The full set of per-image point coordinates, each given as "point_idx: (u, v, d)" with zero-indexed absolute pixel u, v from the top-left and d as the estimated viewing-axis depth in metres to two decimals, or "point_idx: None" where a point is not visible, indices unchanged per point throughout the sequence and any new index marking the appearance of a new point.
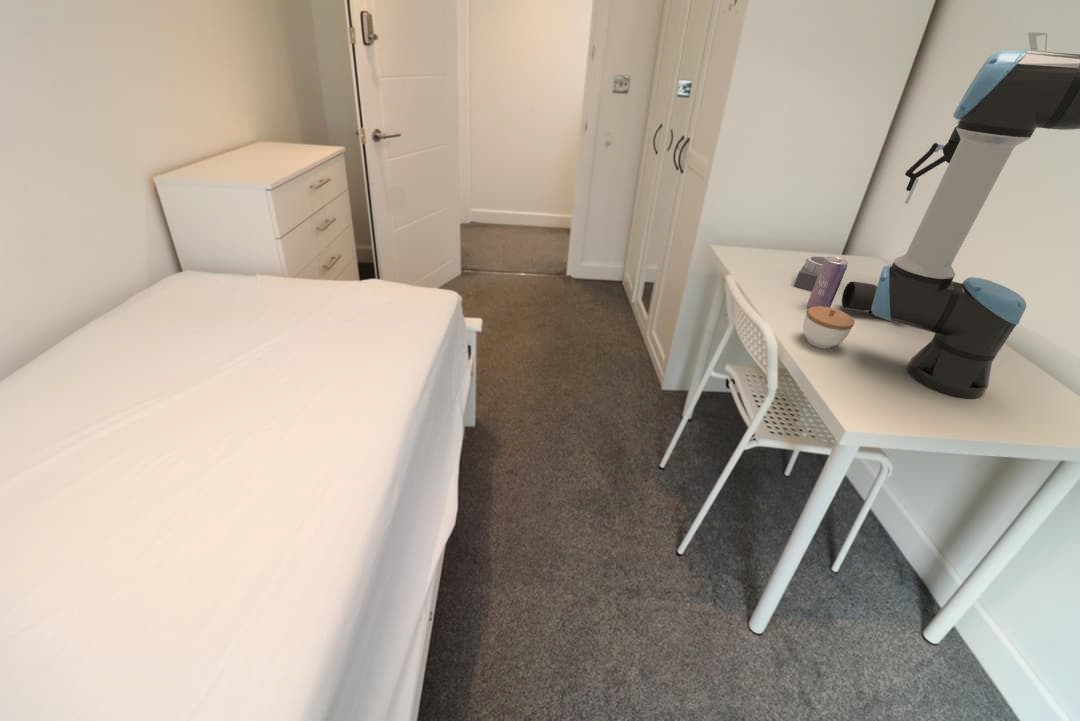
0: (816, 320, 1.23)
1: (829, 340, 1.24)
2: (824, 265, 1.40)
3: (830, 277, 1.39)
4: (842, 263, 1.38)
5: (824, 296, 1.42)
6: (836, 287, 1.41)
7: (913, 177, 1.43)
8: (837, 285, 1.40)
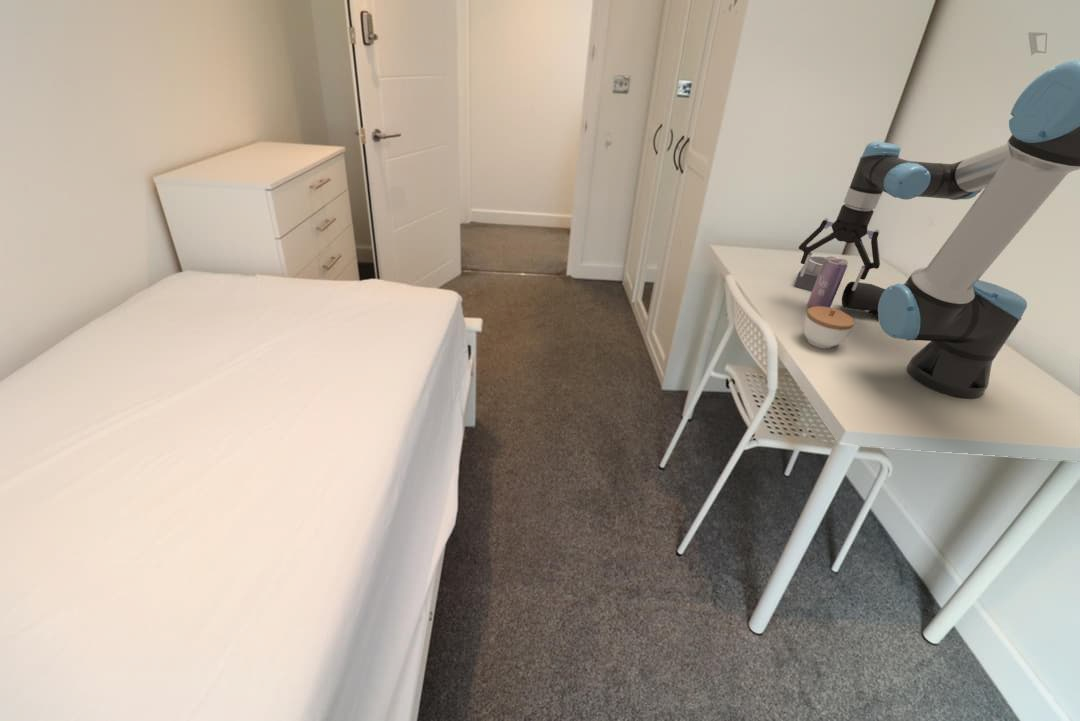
0: (816, 320, 1.23)
1: (829, 340, 1.24)
2: (824, 265, 1.40)
3: (830, 277, 1.39)
4: (842, 263, 1.38)
5: (824, 296, 1.42)
6: (836, 287, 1.41)
7: (806, 251, 1.42)
8: (837, 285, 1.40)
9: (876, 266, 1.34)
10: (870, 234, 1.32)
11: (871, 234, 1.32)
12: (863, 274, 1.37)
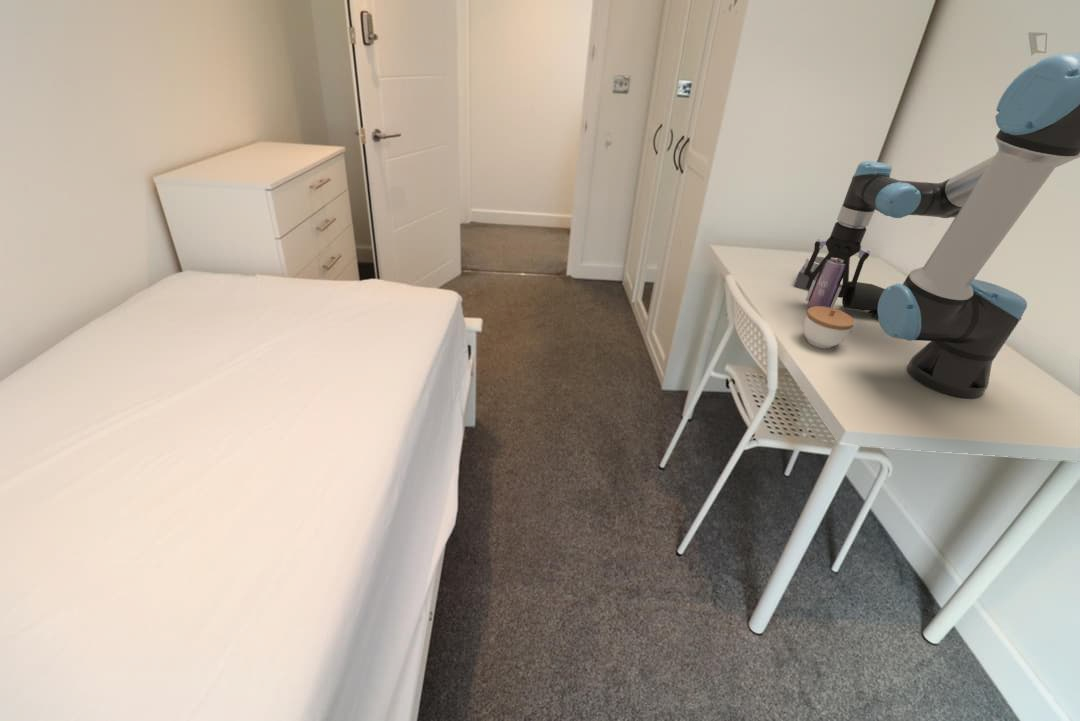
0: (816, 320, 1.23)
1: (829, 340, 1.24)
2: (824, 265, 1.40)
3: (830, 277, 1.39)
4: (842, 263, 1.38)
5: (824, 296, 1.42)
6: (836, 287, 1.41)
7: (811, 277, 1.43)
8: (837, 285, 1.40)
9: (852, 285, 1.38)
10: (861, 253, 1.35)
11: (862, 254, 1.35)
12: (840, 292, 1.41)
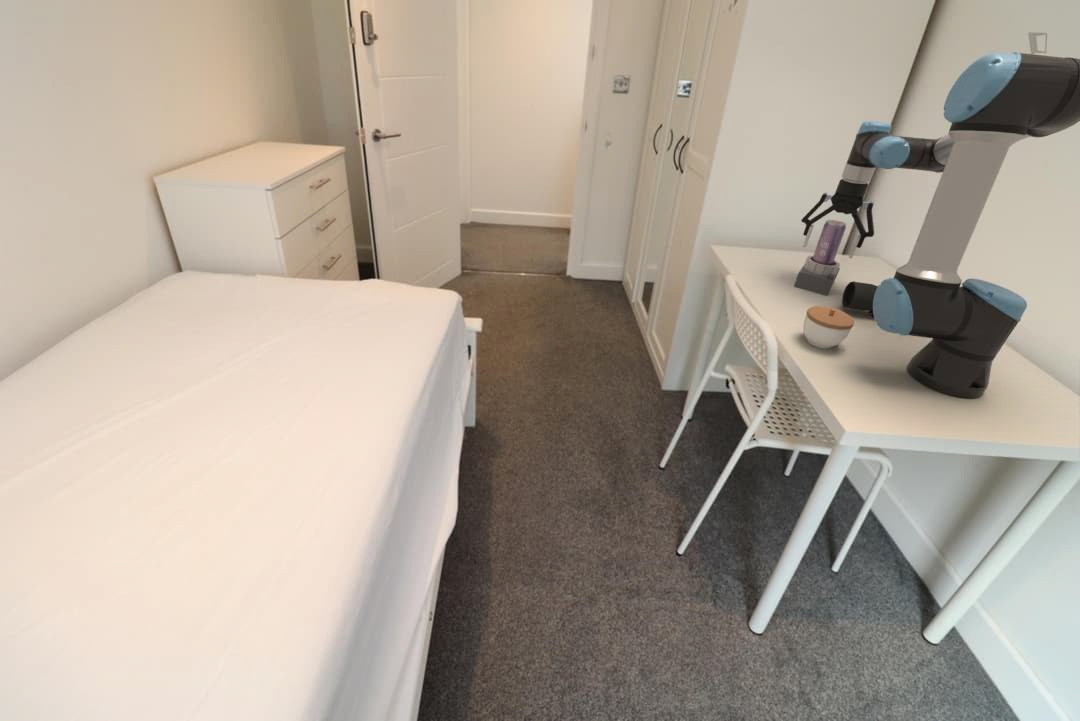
0: (816, 320, 1.23)
1: (829, 340, 1.24)
2: (824, 227, 1.54)
3: (830, 238, 1.53)
4: (841, 224, 1.51)
5: (825, 256, 1.56)
6: (836, 247, 1.54)
7: (808, 224, 1.56)
8: (837, 245, 1.54)
9: (871, 234, 1.48)
10: (865, 205, 1.47)
11: (866, 205, 1.47)
12: (859, 242, 1.51)
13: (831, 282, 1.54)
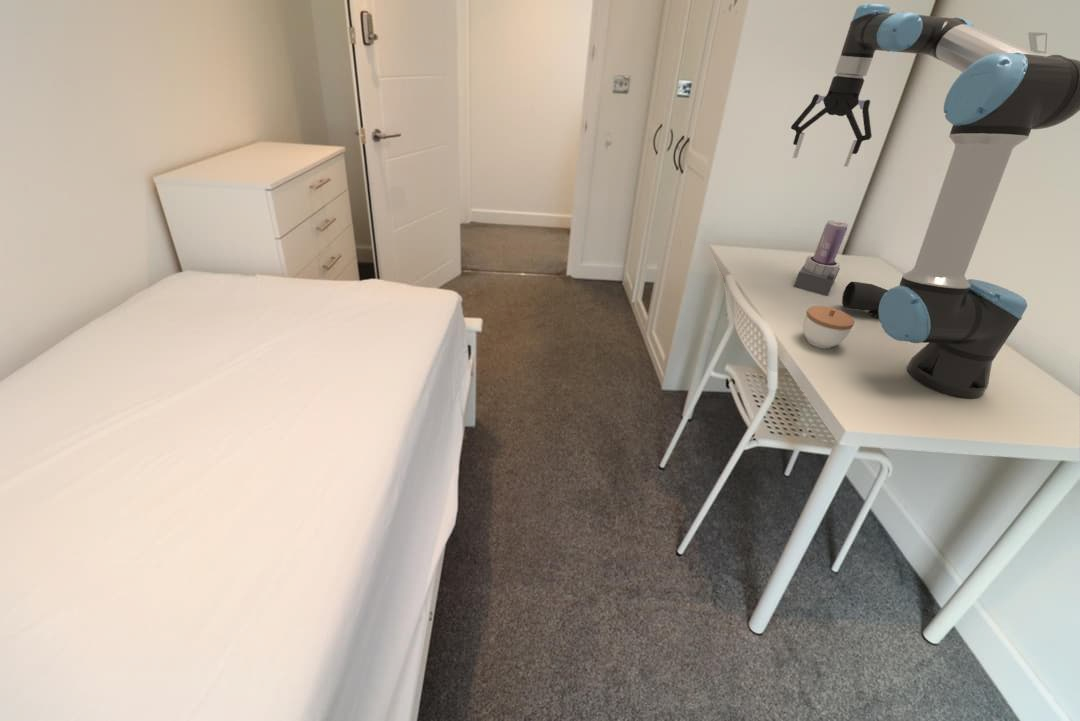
0: (816, 320, 1.23)
1: (829, 340, 1.24)
2: (826, 228, 1.53)
3: (831, 239, 1.53)
4: (842, 225, 1.51)
5: (826, 257, 1.56)
6: (837, 248, 1.54)
7: (798, 130, 1.43)
8: (838, 246, 1.54)
9: (868, 137, 1.35)
10: (861, 104, 1.33)
11: (862, 104, 1.33)
12: (855, 148, 1.38)
13: (831, 282, 1.54)
